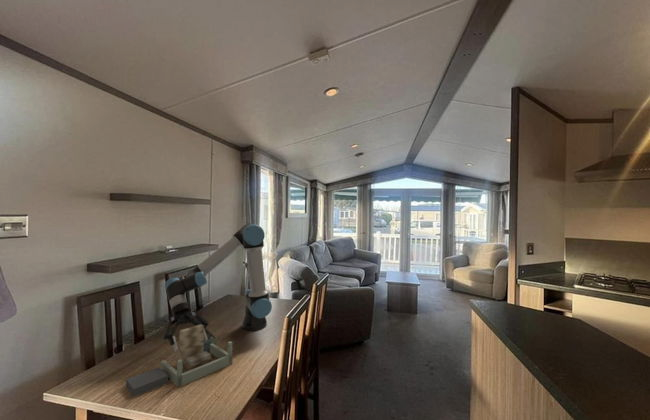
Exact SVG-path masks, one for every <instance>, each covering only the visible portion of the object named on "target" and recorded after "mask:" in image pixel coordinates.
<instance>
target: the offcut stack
mask: <svg viewBox="0 0 650 420" xmlns="http://www.w3.org/2000/svg"><path fill="white" fill-rule="evenodd" d="M210 362H212V353H210V352H209V351H204V352H202V353H199V354H196V355H194V356H191V357H188V358H186V363H184V364H183V367H182V373H185V372H187V371H190V370H192V369H195V368H197V367H200V366H202V365H205V364H207V363H210Z"/></svg>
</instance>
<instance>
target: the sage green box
mask: <svg viewBox="0 0 650 420" xmlns="http://www.w3.org/2000/svg"><path fill="white" fill-rule="evenodd" d="M209 353H210V354H211V355H213V356H215V357H217V358H218V359H214V360H213V361H212V360H211V362H210V363H207V364H205V365H202V366H200V367H197V368H195V369H192V370H190V371H187V372H185V373H182V368H183V367H182V362H183V361H182V360H181V359H180V360H179V359H178V360H176V368H174V367H173V366H172V365H171V364H170V363H169V362H168V361H166V360H165V359H162V360H161V361H160V369H161V370H162V371H163V372H164V373H165V374H167V375H168V380H170V381H171V382H173V384H174V385H175V386H176V387H177V388H180V387H181V386H184V385H186V384H189V383H191V382H194V381H196V380H198V379H200V378H202V377H203V378H204V377H205V376H207V375H210V374H211V373H214V372H216V371H220V370H221V369H223V368H226V367H228V366H230V365H233V341H228V342H227V351H226V350H224V349H223V348H221V347H220V346H217V344H216V345H215V344H213V343H212V344H210V351H209Z"/></svg>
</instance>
